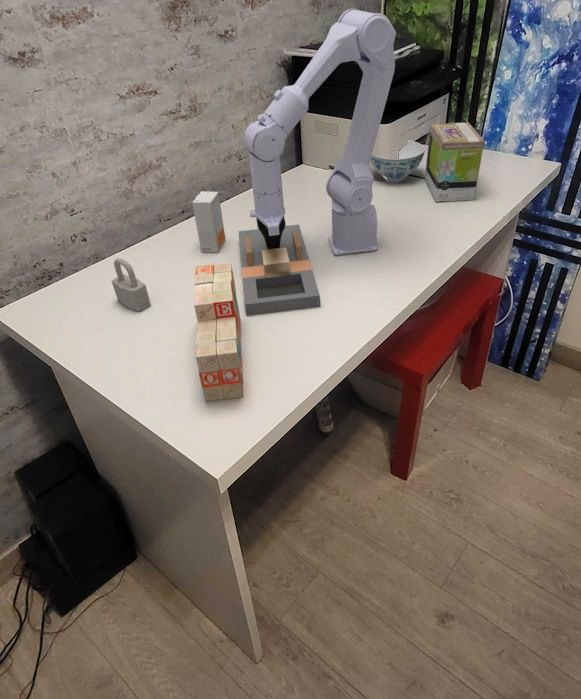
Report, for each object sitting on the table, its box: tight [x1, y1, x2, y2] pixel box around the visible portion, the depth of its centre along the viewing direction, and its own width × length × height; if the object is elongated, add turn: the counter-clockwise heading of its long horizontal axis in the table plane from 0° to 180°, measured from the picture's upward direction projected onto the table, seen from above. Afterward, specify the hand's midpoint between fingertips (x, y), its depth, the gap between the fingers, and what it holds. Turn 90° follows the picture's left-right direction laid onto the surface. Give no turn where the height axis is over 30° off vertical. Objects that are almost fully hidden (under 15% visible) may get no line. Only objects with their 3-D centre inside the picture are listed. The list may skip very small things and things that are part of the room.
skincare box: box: [191, 190, 227, 253], centre depth 117 cm, size 6×4×12 cm
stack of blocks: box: [193, 262, 244, 402], centre depth 86 cm, size 21×6×12 cm, turn 6°
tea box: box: [424, 122, 485, 203], centre depth 132 cm, size 15×10×15 cm
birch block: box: [262, 247, 290, 278], centre depth 106 cm, size 5×6×3 cm
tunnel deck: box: [238, 224, 321, 316], centre depth 109 cm, size 14×30×6 cm, turn 7°
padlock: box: [111, 257, 152, 313], centre depth 102 cm, size 7×4×10 cm, turn 51°
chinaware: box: [370, 139, 426, 183], centre depth 143 cm, size 15×15×8 cm
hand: (273, 251), depth 110 cm, fingers closed
